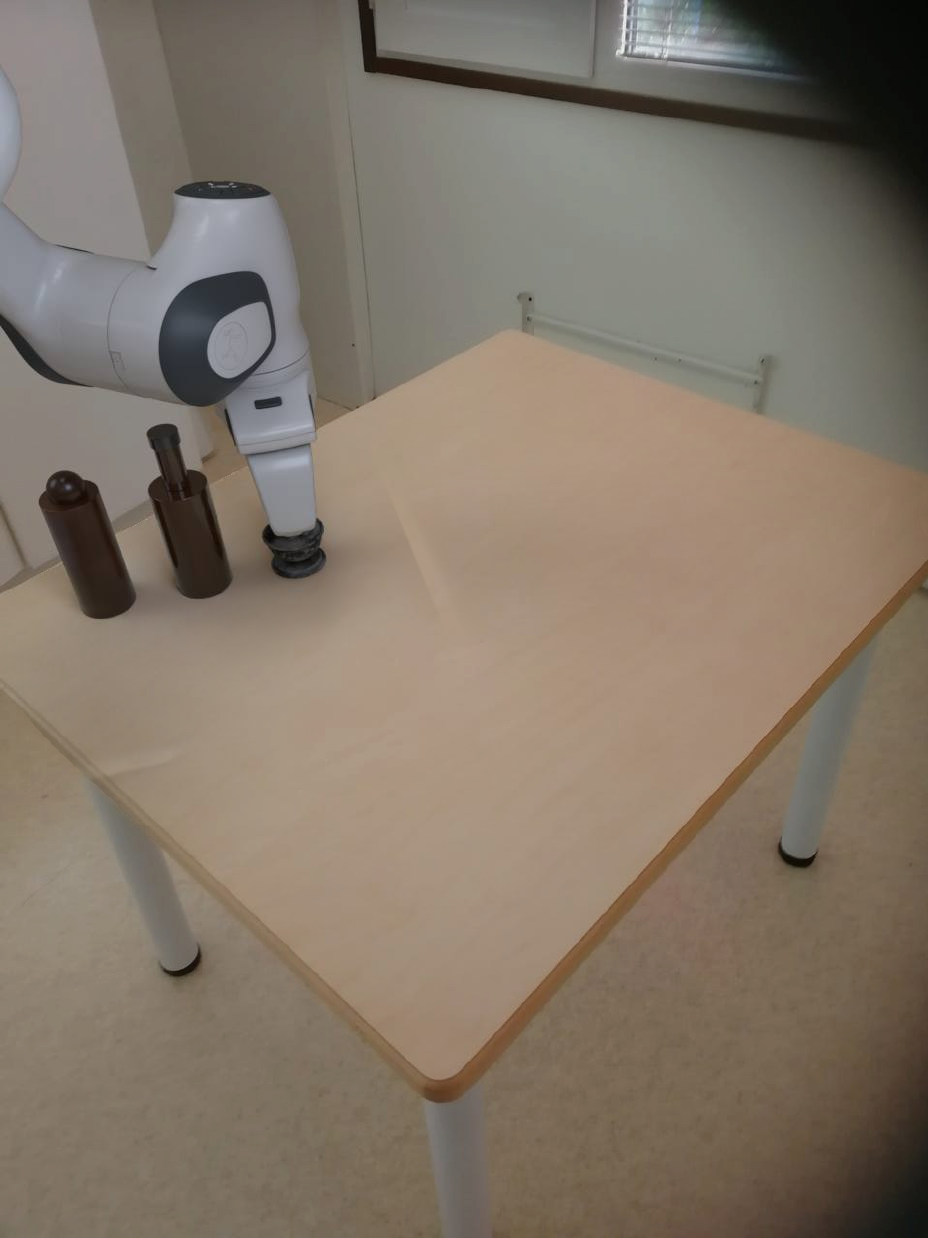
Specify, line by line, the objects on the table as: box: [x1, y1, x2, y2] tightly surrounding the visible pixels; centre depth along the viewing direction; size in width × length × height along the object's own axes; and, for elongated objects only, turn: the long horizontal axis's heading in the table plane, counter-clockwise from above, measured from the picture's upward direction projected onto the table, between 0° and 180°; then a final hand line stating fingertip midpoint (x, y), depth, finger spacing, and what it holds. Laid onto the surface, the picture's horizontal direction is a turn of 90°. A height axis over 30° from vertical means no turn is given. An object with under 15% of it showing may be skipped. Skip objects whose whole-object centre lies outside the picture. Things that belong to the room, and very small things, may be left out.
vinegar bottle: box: [145, 423, 234, 600], centre depth 86 cm, size 5×5×16 cm
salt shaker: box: [261, 517, 327, 579], centre depth 89 cm, size 6×6×12 cm
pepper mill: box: [38, 469, 137, 620], centre depth 85 cm, size 5×5×14 cm
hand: (289, 518), depth 90 cm, fingers closed on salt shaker, 3 cm apart
